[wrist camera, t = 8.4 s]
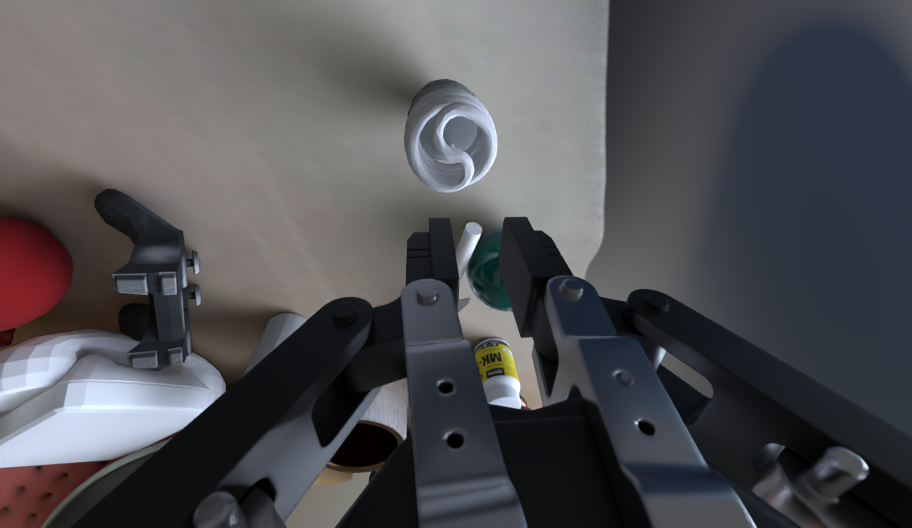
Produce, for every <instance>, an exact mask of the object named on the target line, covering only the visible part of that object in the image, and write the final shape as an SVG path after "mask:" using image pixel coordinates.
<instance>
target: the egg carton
mask: <svg viewBox="0 0 912 528" xmlns="http://www.w3.org/2000/svg"><path fill="white" fill-rule="evenodd" d="M181 430H182V429H181ZM181 430H179V431H177V432H175V433H173V434H171V435H169V436H167V437H165V438H163V439H161V440H159V441H157V442H155V443H153V444H151V445H149V446H147V447H150V446H152V445H155V444H157V443H160V442H162V441H165V440H168V439H170V438H172V437H174V436H175V435H176V434H178V433H179V432H180V431H181ZM147 447H145V448H147ZM145 448H143V449H145ZM141 450H142V449H141ZM139 451H140V450H139ZM136 452H138V451H136ZM134 453H135V452H134ZM131 454H133V453H131ZM128 455H130V454H128ZM128 455H126V456H128ZM126 456H123V457H120V458H116V459H112V460H103V461H89V462H75V463H61V464H47V465H33V466H20V467H6V468H0V528H41V526H42V525H43V523H44V522H45V521H46V519H47V518H48V517H49V515H50V514H51V513H52V512H53V510H54V509H55V508H56V507H57V506H58V505H59V504H60V503H61V502H62V501H63V500H64V499H65V498H66V497H67V496H68V495H69V494H70V493H71V492H72V491H74V490H75V489H76V488H77V487H78V486H80V485H81V484H82V483H83V482H85V481H86V480H87V479H88V478H90V477H91V476H93V475H94V474H96V473H97V472H98V471H100V470H102V469H103V468H105V467H106V466H108V465H110V464H112V463H114V462H115V461H117V460H119V459H122V458H124V457H126Z"/></svg>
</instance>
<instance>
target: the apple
mask: <svg viewBox="0 0 912 528" xmlns="http://www.w3.org/2000/svg"><path fill="white" fill-rule="evenodd" d="M72 272H73V264H72V259H71V257H70V255H69V253H68V252H67V250H66V249H65V247H64V245H63V244H62V243H61V242H60V241H59V240H58V239H57V238H55V237H54V236H53V235H52V234H51V233H50V232H49V231H48V230H46V229H45V228H43V227H42V226H40V225H37V224H34V223H31V222H28V221H24V220H21V219H16V218H9V217H2V216H0V331H6V330H10V329H13V328H16V327H19V326H22V325H25V324H27V323H29V322H31V321H33V320H35V319H37V318H39V317H40V316H42V315H44V314H45V313H47V312H49V311H50V310H51V309H52V308H53V307H54V306H56V305H57V304H58V303H59V301H60V300H61V299H62V298H63V297H64V296H65V294H66V293H67V291H68V289H69V287H70V285H71V280H72Z"/></svg>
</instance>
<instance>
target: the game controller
mask: <svg viewBox="0 0 912 528" xmlns="http://www.w3.org/2000/svg"><path fill="white" fill-rule="evenodd" d="M94 204H95V208H96V210H97V212H98V213H99V215H100V216H101V217H102V219H103V220H104V221H105V223H107V224H108V225H110V226H112V227H113V228H115V229H117V230H119V231H120V232H122V233H124V234H125V235H127V236H128V237H129V238H130V239H131V240H132V242H133V243H134V244H135V245H136V246H135V248H134V250H133V252H132V254H131V257H130V259H129V261H128V263H127V264H126V265H124V266H123V267H121V268H120V269H118V270H117V271H115V272H114V273H112V274H111V275H112V282H113V287H114V290H118V291H119V293H130V294H141V295H147V293H149V303H150V304H137V303H131V304H127V305H124V306H122V308H121V310H120V312H119V314H118V324H119V328H120V332H121V333H122V334H125V335H126V336H128V337H130V338H131V339H133V340H136V341H139V342H140V343H139V344H138V345H137V346H135V347H134V348H133V349H132V350H130V351H129V352H128V353H127V357H128V363H129V365H132V366H133V368H157V366H164V365H171V367H174V366H180V365H183V363H184V362H185V360H186V357H187V356H189V355H191V354H192V347H191V334H190V322H189V313H188V303H187V299H195V304H196V306H198V305H200V302H201V296H202V294H201V291H200V288H199V285H196V284H194V292H187V291H186V287H187V267H192V266H193V268H194V275H195V274H197V273H199V268H200V259H199V256H198V253H197V252H196V251H192V256H193V259H186V255H185V244H184V235H183V231H182V230H179V229H176V228H175V227H173V226H172V225H170V224H169V223H167V222H166V221H164V220H163V219H161V218H160V217H158V216H157V215H156V214H154V213H153V212H151V211H150V210H148V209H147V208H145V207H144V206H142V205H141V204H139V203H138V202H137V201H135V200H134V199H132V198H131V197H129V196H128V195H126V194H124V193H122V192H119V191H117V190H115V189H106V190H104V191H103V192H101V193H99V194H98V195H97V197H96V199H95V201H94Z"/></svg>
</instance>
